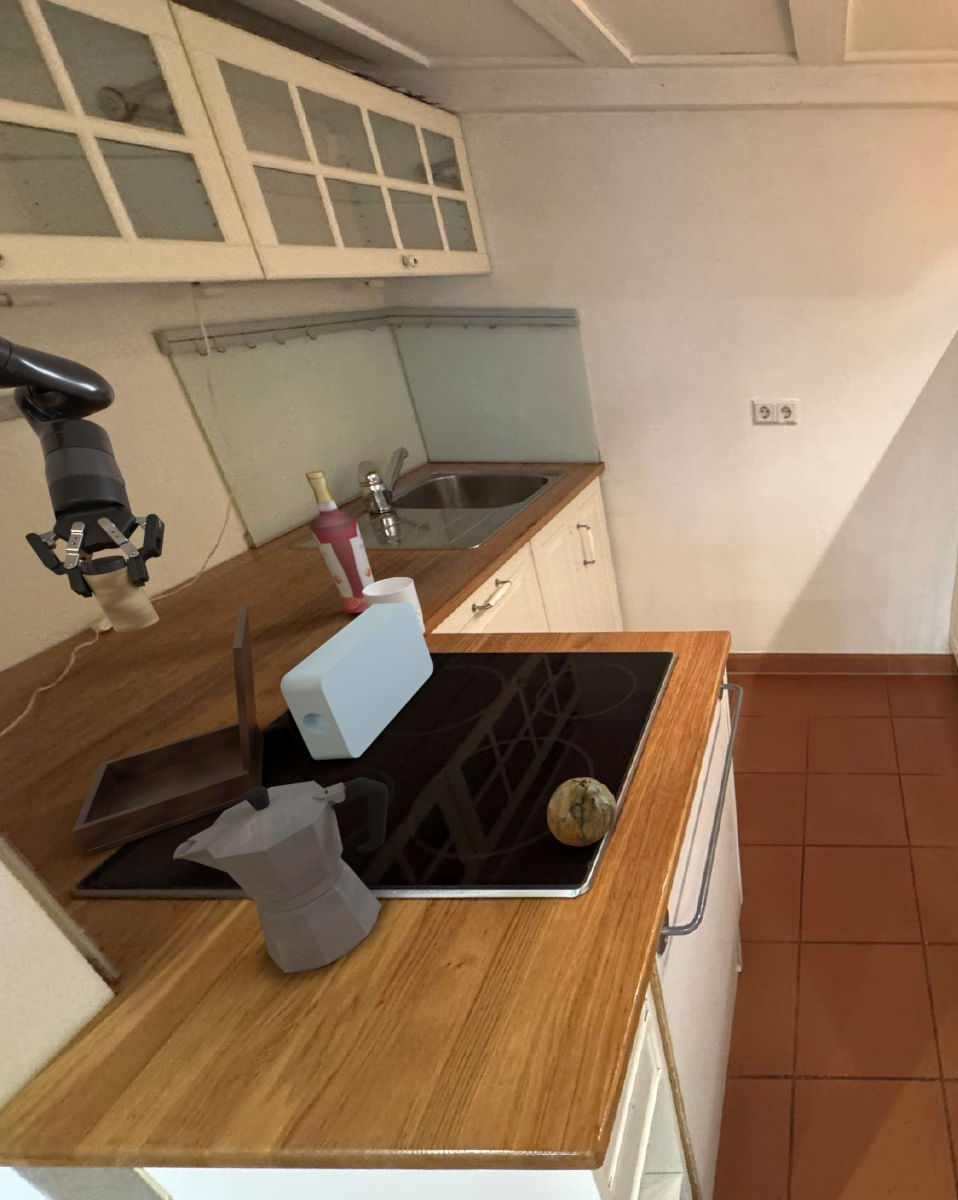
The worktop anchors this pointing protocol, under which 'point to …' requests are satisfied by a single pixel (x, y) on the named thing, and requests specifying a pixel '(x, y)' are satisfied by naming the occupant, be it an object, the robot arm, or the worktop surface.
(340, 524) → the liquor
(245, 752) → the chest lid
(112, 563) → the beige jar
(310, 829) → the coffeepot
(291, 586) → the worktop surface
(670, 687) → the worktop surface
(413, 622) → the pale blue rectangular block
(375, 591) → the white cup
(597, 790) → the onion
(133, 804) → the chest
